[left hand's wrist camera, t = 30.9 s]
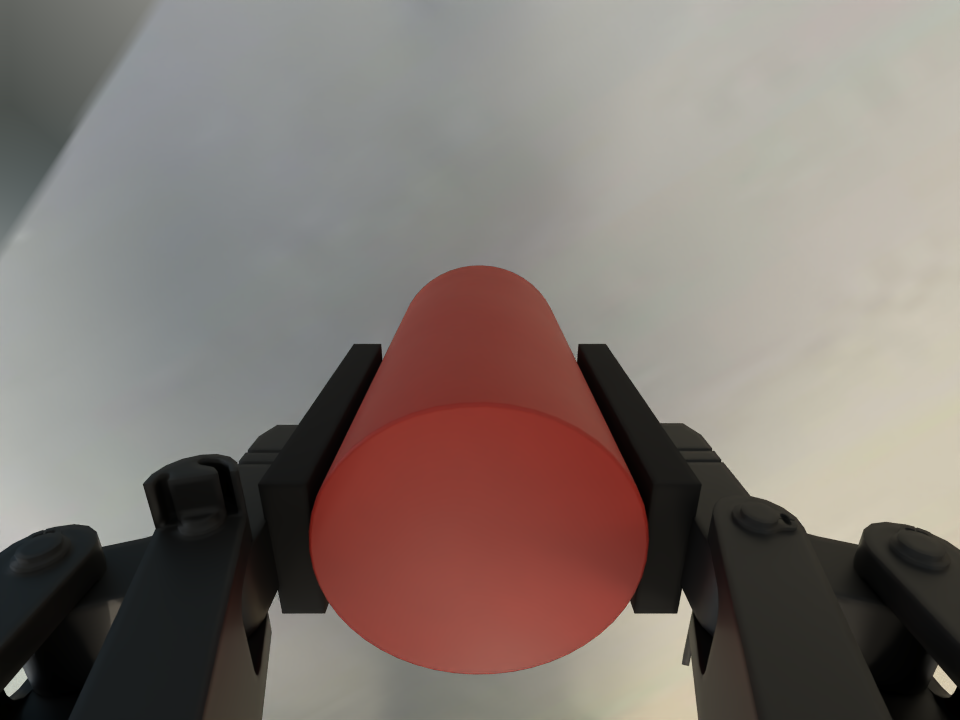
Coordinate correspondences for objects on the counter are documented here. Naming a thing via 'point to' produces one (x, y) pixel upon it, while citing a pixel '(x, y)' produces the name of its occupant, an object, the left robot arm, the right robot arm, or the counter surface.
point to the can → (478, 490)
